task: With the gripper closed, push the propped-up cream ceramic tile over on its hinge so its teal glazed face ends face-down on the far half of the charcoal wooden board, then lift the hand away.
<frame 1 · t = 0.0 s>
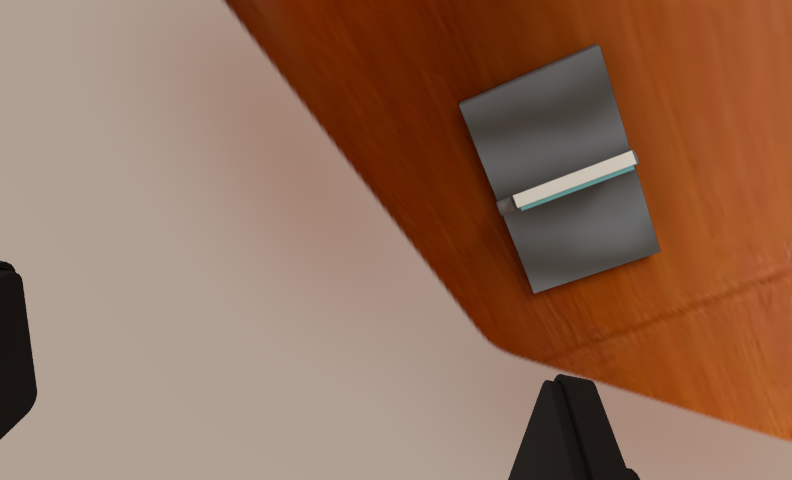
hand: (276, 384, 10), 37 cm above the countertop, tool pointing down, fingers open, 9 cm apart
board: (560, 176, 45), on the countertop
tile: (569, 183, 39), point 6 cm above the countertop, hinge at 70.0°
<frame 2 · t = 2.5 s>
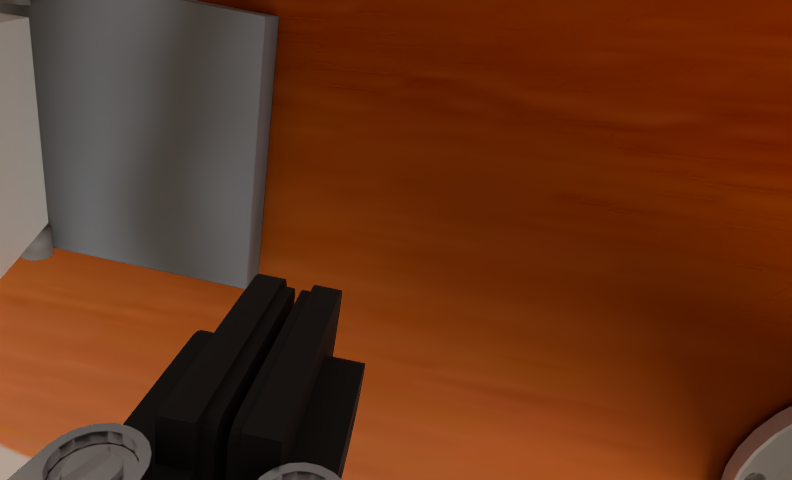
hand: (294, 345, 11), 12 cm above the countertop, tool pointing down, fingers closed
board: (60, 115, 23), on the countertop
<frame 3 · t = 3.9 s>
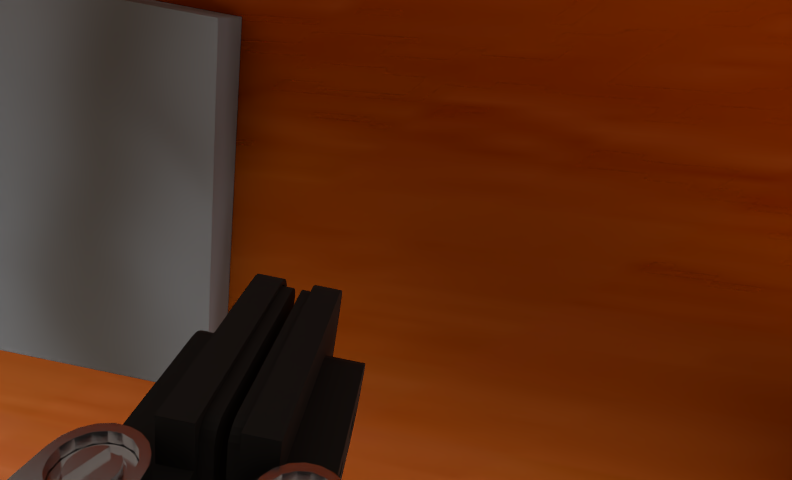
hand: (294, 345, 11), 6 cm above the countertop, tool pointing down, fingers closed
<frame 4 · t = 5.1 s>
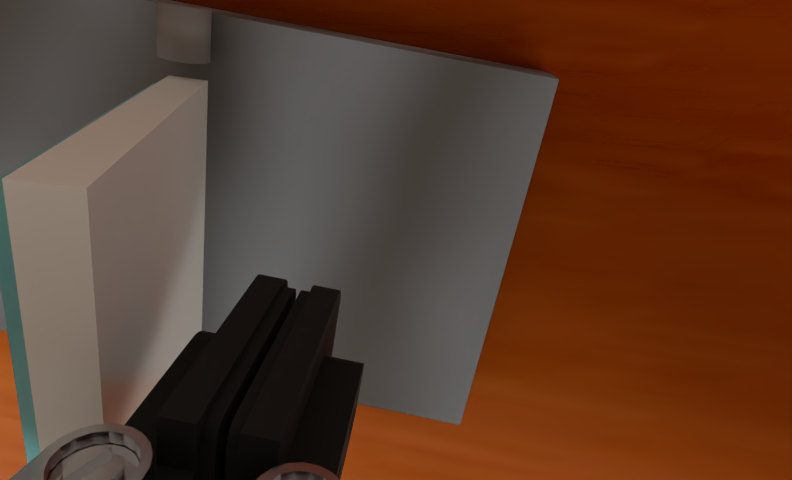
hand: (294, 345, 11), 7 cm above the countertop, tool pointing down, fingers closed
board: (214, 198, 17), on the countertop
tile: (139, 300, 11), point 6 cm above the countertop, hinge at 77.0°, touching gripper
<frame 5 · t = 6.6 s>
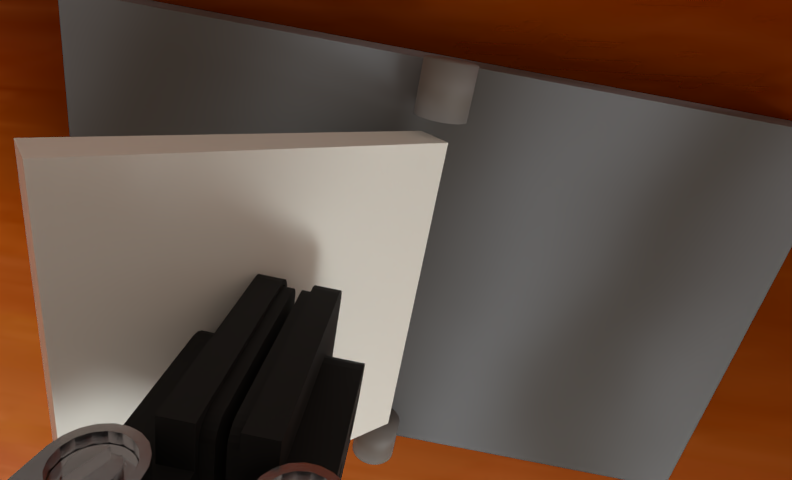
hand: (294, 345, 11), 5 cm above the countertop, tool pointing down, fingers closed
board: (410, 252, 16), on the countertop
tile: (259, 323, 11), point 5 cm above the countertop, hinge at 137.0°, touching gripper
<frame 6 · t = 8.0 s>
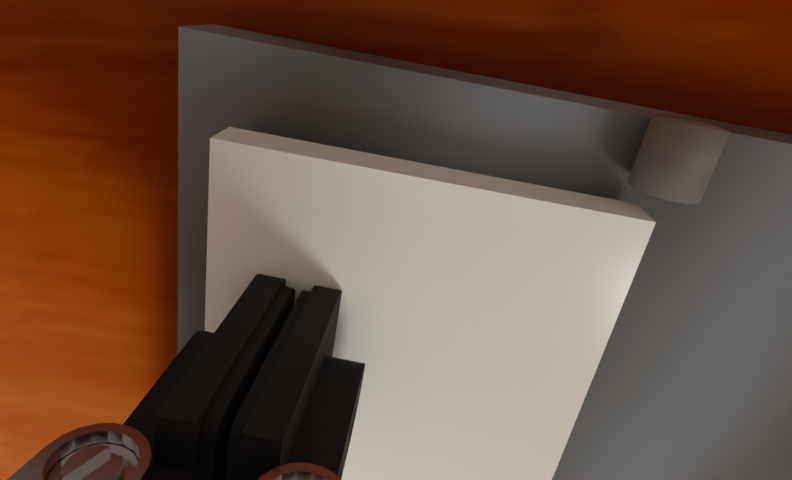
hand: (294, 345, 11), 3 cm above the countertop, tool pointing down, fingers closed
board: (565, 332, 13), on the countertop
tile: (395, 352, 11), point 2 cm above the countertop, hinge at 178.6°, touching gripper
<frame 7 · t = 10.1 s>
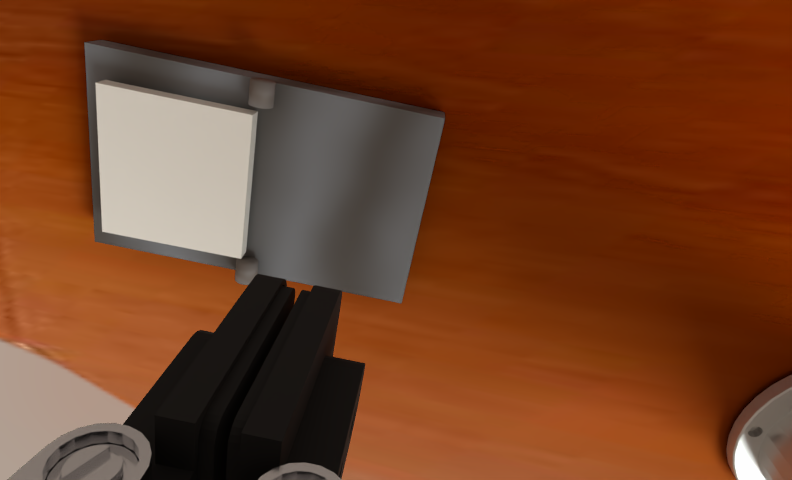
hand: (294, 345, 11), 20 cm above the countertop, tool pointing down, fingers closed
board: (265, 175, 30), on the countertop
tile: (178, 173, 28), point 2 cm above the countertop, hinge at 179.4°
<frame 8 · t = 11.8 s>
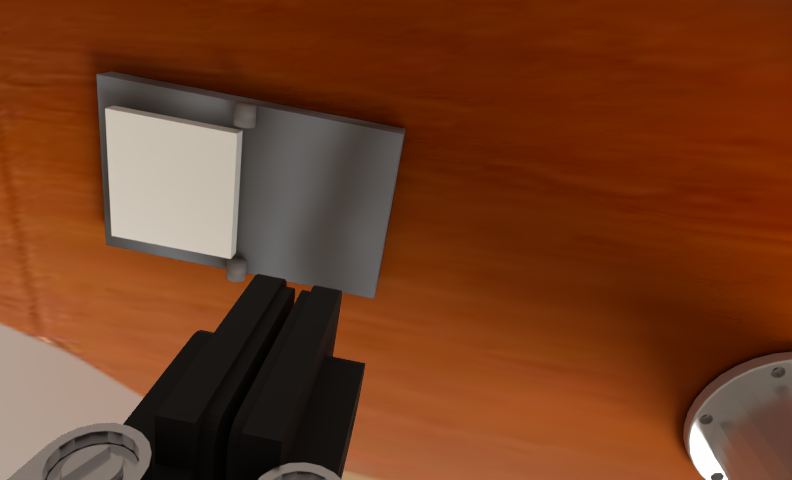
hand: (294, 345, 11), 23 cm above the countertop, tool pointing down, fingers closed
board: (252, 186, 34), on the countertop
tile: (175, 184, 32), point 2 cm above the countertop, hinge at 179.4°
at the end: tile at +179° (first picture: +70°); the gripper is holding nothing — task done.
